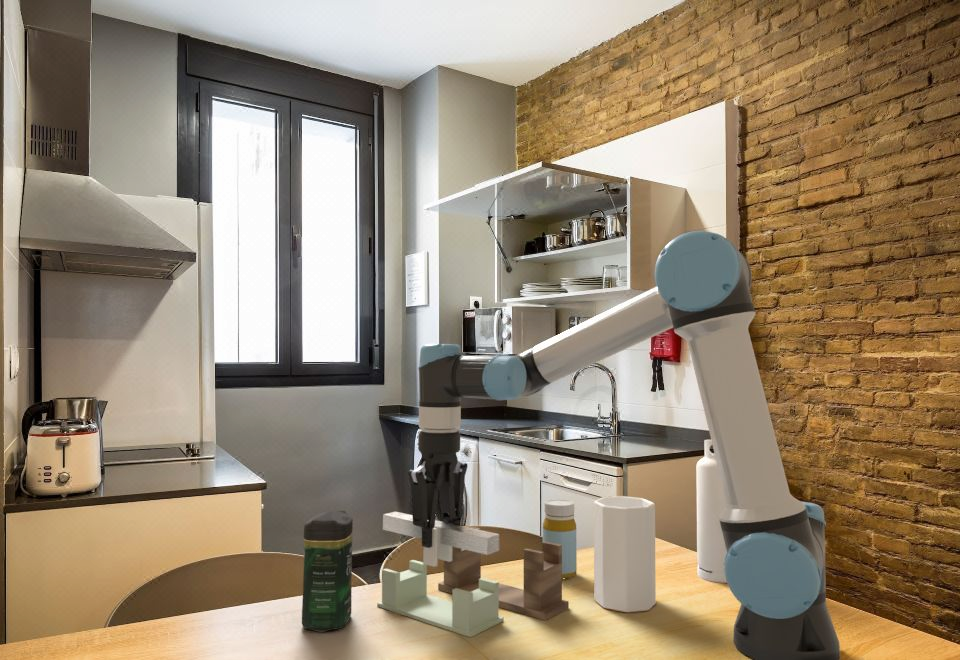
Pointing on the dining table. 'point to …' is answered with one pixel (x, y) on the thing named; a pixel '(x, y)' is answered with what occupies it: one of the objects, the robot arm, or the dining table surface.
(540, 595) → the rack
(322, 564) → the coffee jar
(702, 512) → the bottle
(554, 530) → the bottle
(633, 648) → the dining table surface
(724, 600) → the dining table surface
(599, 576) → the cup
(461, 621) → the rest
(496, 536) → the rail
